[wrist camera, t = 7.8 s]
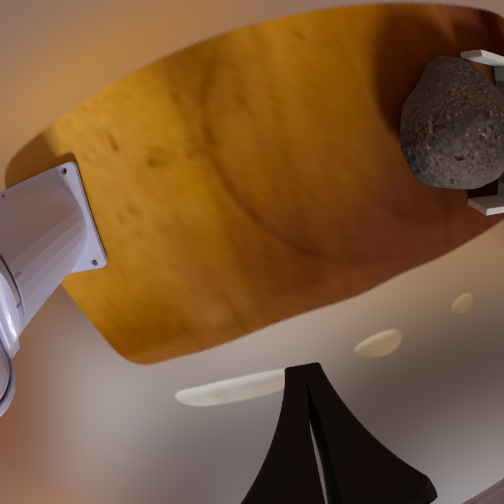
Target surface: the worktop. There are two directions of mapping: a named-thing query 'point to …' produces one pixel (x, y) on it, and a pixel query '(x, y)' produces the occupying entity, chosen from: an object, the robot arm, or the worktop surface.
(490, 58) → the digital alarm clock
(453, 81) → the stone
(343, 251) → the worktop surface
